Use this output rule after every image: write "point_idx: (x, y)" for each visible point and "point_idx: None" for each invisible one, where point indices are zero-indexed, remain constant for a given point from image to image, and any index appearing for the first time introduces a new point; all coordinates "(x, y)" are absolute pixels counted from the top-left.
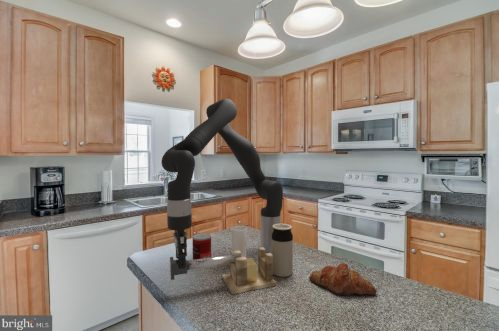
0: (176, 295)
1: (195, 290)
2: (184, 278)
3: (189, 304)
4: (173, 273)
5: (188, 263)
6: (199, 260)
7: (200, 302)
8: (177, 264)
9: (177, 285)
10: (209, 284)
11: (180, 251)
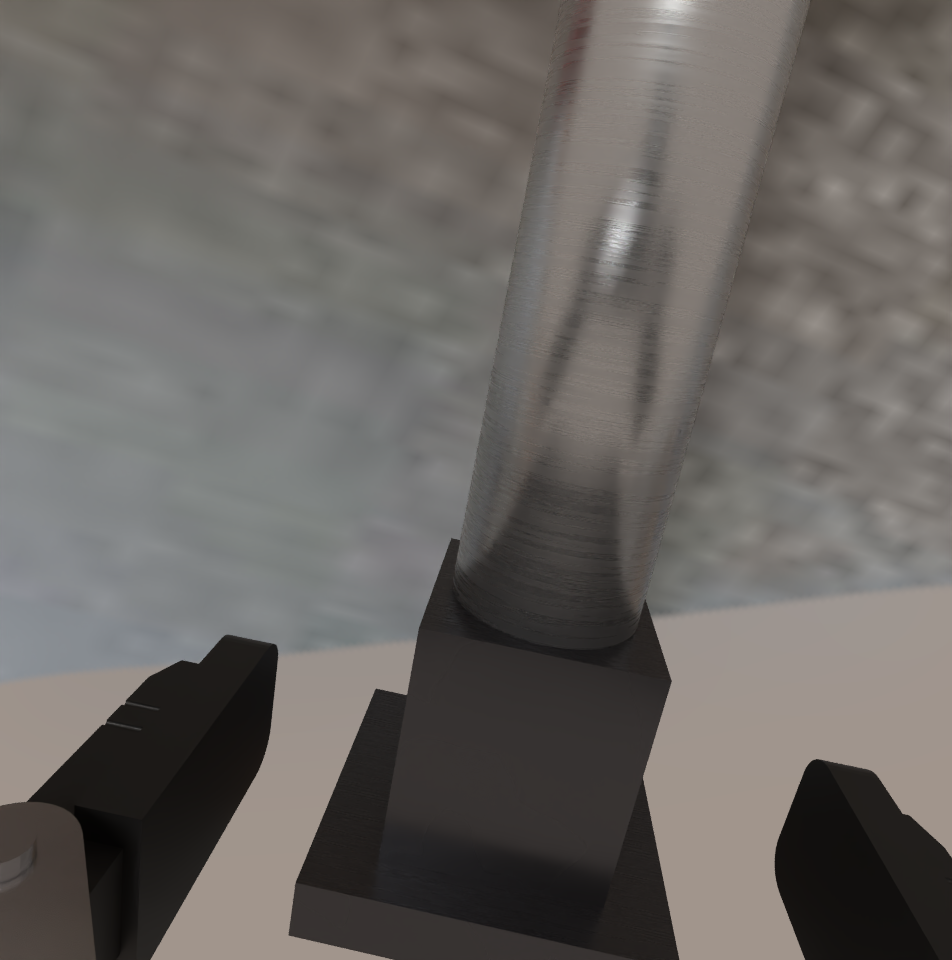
0: None
1: None
2: (192, 378)
3: (780, 507)
4: (644, 821)
5: (625, 616)
6: (658, 361)
7: (822, 394)
8: (620, 847)
9: (324, 498)
10: (496, 136)
11: (209, 780)
